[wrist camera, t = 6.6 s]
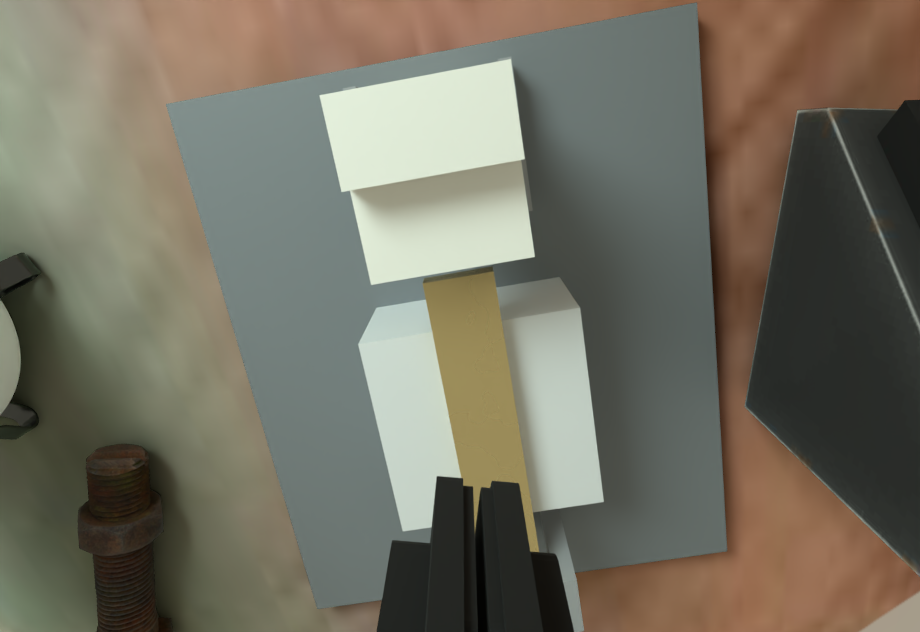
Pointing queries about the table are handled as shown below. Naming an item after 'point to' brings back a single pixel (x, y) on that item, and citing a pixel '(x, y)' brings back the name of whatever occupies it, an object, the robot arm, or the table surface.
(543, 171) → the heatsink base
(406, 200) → the block
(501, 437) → the wooden building block
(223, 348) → the table surface
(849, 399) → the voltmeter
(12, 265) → the coffee press
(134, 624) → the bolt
